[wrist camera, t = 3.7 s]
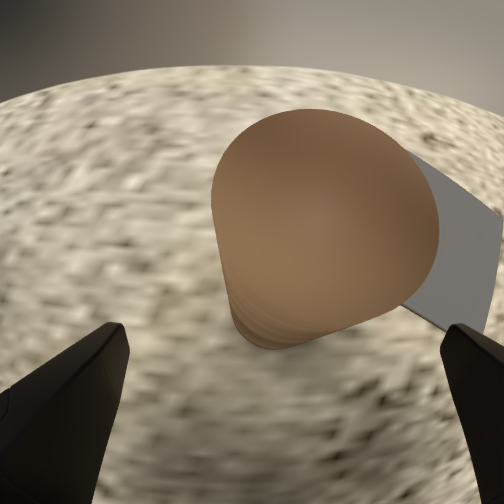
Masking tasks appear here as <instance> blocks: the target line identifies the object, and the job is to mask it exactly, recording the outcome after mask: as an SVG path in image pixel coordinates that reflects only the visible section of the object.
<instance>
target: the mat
mask: <svg viewBox="0 0 504 504" xmlns="http://www.w3.org/2000/svg"><path fill="white" fill-rule="evenodd" d="M405 151H406V152H407V153H408V154H409V155H410V156H411V157H412V158H413V160H414V161H415V162H416V164H417V165H418V166H419V168H420V169H421V171H422V173H423V174H424V176H425V178H426V179H427V181H428V184H429V186H430V188H431V190H432V193H433V196H434V199H435V202H436V206H437V211H438V216H439V230H440V231H439V244H438V249H437V254H436V258H435V260H434V263H433V266H432V268H431V270H430V272H429V274H428V276H427V278H426V279H425V281H424V282H423V284H422V285H421V286H420V288H419V289H418V290H417V291H416V292H415V293H414V294H413V295H412V296H411V297H410V298H409V299H408V300H407V301H405V302H404V303H402V304H401V305H402V306H404V307H405V308H407V309H409V310H410V311H412V312H414V313H415V314H417V315H419V316H420V317H422V318H424V319H425V320H427V321H429V322H430V323H432V324H434V325H435V326H437V327H439V328H440V329H442V330H443V331H445V332H447V330H448V328H449V326H450V325H452V324H456V323H463V324H465V325H467V326H469V327H471V328H472V329H474V330H476V331H478V332H479V333H481V334H483V332H484V328H485V324H486V321H487V317H488V313H489V308H490V304H491V300H492V295H493V290H494V285H495V280H496V274H497V268H498V262H499V255H500V248H501V240H502V230H503V219H502V218H501V217H499V216H498V215H497V214H496V213H495V212H493V211H492V210H491V209H490V208H488V207H487V206H486V205H485V204H483V203H482V202H481V201H480V200H478V199H477V198H476V197H474V196H473V195H472V194H470V193H469V192H468V191H466V190H465V189H464V188H462V187H461V186H460V185H458V184H457V183H456V182H454V181H453V180H451V179H450V178H448V177H447V176H446V175H444V174H443V173H441V172H440V171H438V170H437V169H435V168H434V167H432V166H431V165H429V164H428V163H426V162H425V161H423V160H422V159H420V158H418V157H417V156H415V155H414V154H412V153H410V152H409V151H407V150H406V149H405Z"/></svg>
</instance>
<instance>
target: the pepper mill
mask: <svg viewBox="0 0 504 504" xmlns="http://www.w3.org/2000/svg"><path fill="white" fill-rule="evenodd" d="M211 208H212V215H213V221H214V227H215V232H216V238H217V243H218V248H219V254H220V259H221V264H222V269H223V274H224V279H225V284H226V289H227V294H228V299H229V304H230V309H231V314H232V318H233V321H234V324H235V326H236V328H237V329H238V331H239V332H240V333H241V334H242V336H243V337H244V338H246V339H247V340H248V341H249V342H251V343H252V344H254V345H256V346H259V347H262V348H266V349H283V348H287V347H291V346H294V345H297V344H300V343H303V342H306V341H310V340H313V339H316V338H319V337H322V336H325V335H328V334H331V333H334V332H336V331H339V330H342V329H345V328H348V327H351V326H353V325H356V324H359V323H362V322H364V321H367V320H370V319H372V318H375V317H377V316H380V315H382V314H384V313H387V312H389V311H391V310H393V309H395V308H396V307H398V306H399V305H401V304H402V303H404V302H405V301H407V300H408V299H409V298H410V297H411V296H412V295H413V294H414V293H415V292H416V291H417V290H418V289H419V288H420V286H421V285H422V284H423V282H424V281H425V279H426V278H427V276H428V274H429V272H430V270H431V268H432V266H433V263H434V260H435V258H436V254H437V249H438V244H439V231H440V230H439V216H438V211H437V206H436V202H435V199H434V196H433V193H432V190H431V188H430V186H429V184H428V181H427V179H426V178H425V176H424V174H423V173H422V171H421V169H420V168H419V166H418V165H417V164H416V162H415V161H414V160H413V158H412V157H411V156H410V155H409V154H408V153H407V152H406V151H405V149H404V148H403V147H401V146H400V145H399V144H398V143H397V142H396V141H395V140H394V139H392V138H391V137H390V136H388V135H387V134H386V133H384V132H383V131H381V130H379V129H378V128H376V127H375V126H373V125H371V124H369V123H367V122H365V121H363V120H361V119H358V118H355V117H352V116H350V115H346V114H343V113H339V112H334V111H328V110H320V109H300V110H292V111H286V112H282V113H278V114H275V115H272V116H269V117H267V118H264V119H262V120H260V121H258V122H256V123H255V124H253V125H251V126H250V127H248V128H247V129H246V130H244V131H243V132H242V133H241V134H240V135H239V136H238V137H237V138H236V139H235V140H234V141H233V142H232V143H231V144H230V145H229V147H228V148H227V150H226V151H225V152H224V154H223V156H222V158H221V160H220V162H219V164H218V166H217V169H216V172H215V175H214V178H213V184H212V191H211Z"/></svg>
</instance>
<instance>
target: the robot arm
mask: <svg viewBox="0 0 504 504" xmlns="http://www.w3.org/2000/svg"><path fill="white" fill-rule="evenodd" d="M129 354H130V348H129V344H128V340H127V336H126V332H125V328H124V326H123V325H122V324H121V323H115V322H107V323H105V324H104V325H102V326H101V327H99V328H98V329H96V330H94V331H93V332H91V333H90V334H88V335H87V336H85V337H84V338H82V339H81V340H79V341H78V342H76V343H75V344H73V345H72V346H70V347H69V348H67V349H66V350H64V351H63V352H61V353H60V354H58V355H57V356H55V357H54V358H52V359H51V360H49V361H48V362H46V363H45V364H43V365H42V366H40V367H39V368H37V369H36V370H34V371H33V372H31V373H30V374H28V375H27V376H25V377H24V378H22V379H21V380H19V381H18V382H16V383H15V384H14V385H12V386H11V387H10V388H8V389H6V390H5V391H3V392H2V393H0V504H92V500H93V496H94V491H95V487H96V483H97V480H98V476H99V472H100V468H101V464H102V461H103V457H104V454H105V450H106V447H107V443H108V440H109V436H110V433H111V430H112V426H113V423H114V420H115V416H116V413H117V410H118V406H119V403H120V398H121V393H122V388H123V383H124V378H125V374H126V369H127V364H128V360H129ZM440 355H441V358H442V361H443V365H444V369H445V372H446V376H447V380H448V384H449V388H450V391H451V395H452V398H453V401H454V404H455V407H456V410H457V413H458V416H459V419H460V422H461V425H462V428H463V432H464V435H465V438H466V442H467V445H468V449H469V452H470V456H471V460H472V464H473V467H474V472H475V476H476V480H477V484H478V489H479V494H480V498H481V504H504V346H502V345H500V344H499V343H497V342H495V341H493V340H492V339H490V338H488V337H486V336H485V335H483V334H481V333H479V332H478V331H476V330H474V329H472V328H471V327H469V326H467V325H465V324H463V323H456V324H452V325H450V326H449V328H448V330H447V332H446V335H445V337H444V339H443V341H442V343H441V346H440Z"/></svg>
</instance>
